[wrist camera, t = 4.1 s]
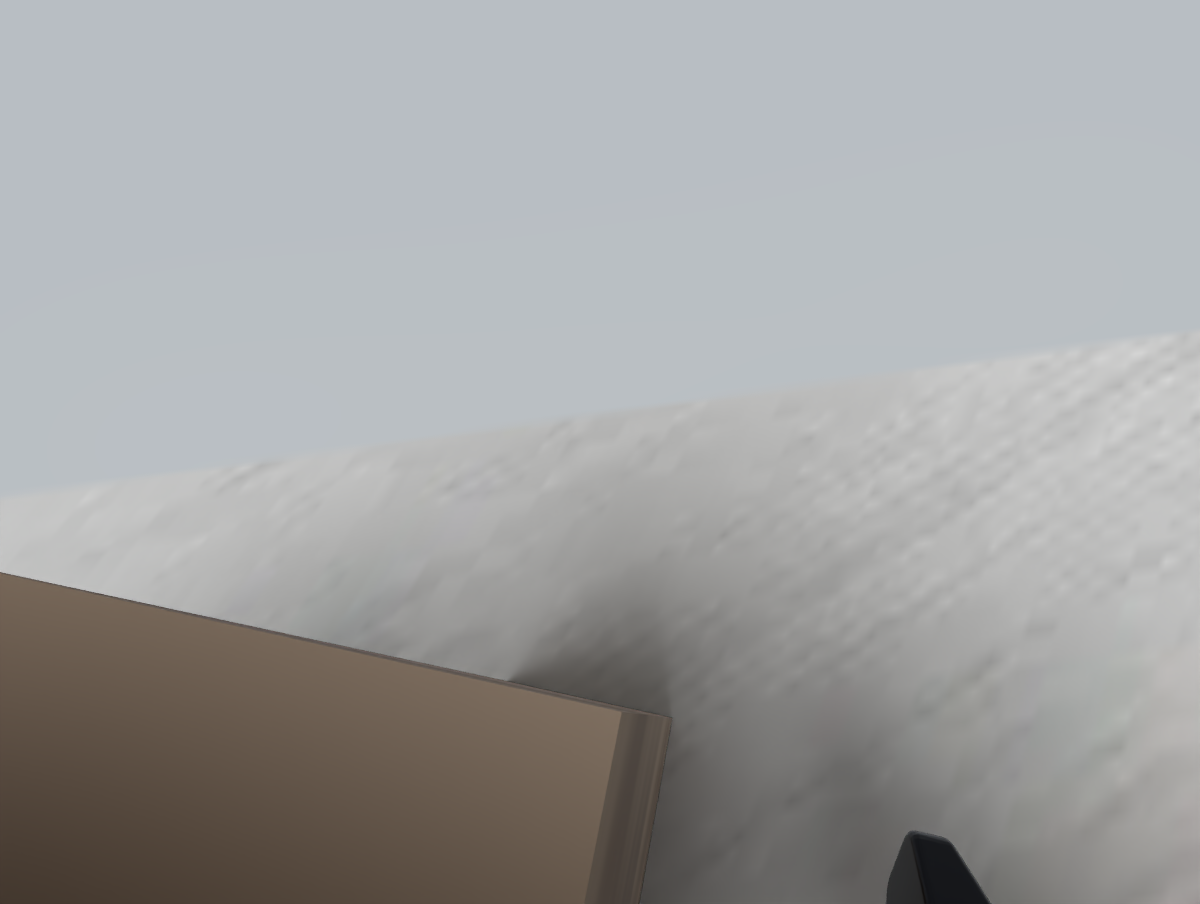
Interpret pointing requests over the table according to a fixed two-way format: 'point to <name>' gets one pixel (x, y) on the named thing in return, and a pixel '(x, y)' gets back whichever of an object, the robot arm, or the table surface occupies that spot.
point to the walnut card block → (298, 769)
